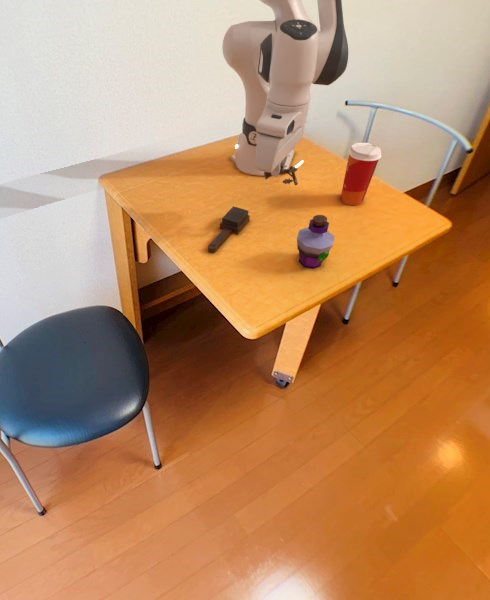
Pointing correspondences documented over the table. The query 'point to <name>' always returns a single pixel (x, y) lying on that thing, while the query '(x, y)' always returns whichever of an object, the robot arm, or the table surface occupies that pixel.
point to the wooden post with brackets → (283, 171)
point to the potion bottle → (314, 242)
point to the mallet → (230, 227)
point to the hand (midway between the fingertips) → (277, 173)
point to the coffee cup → (359, 172)
